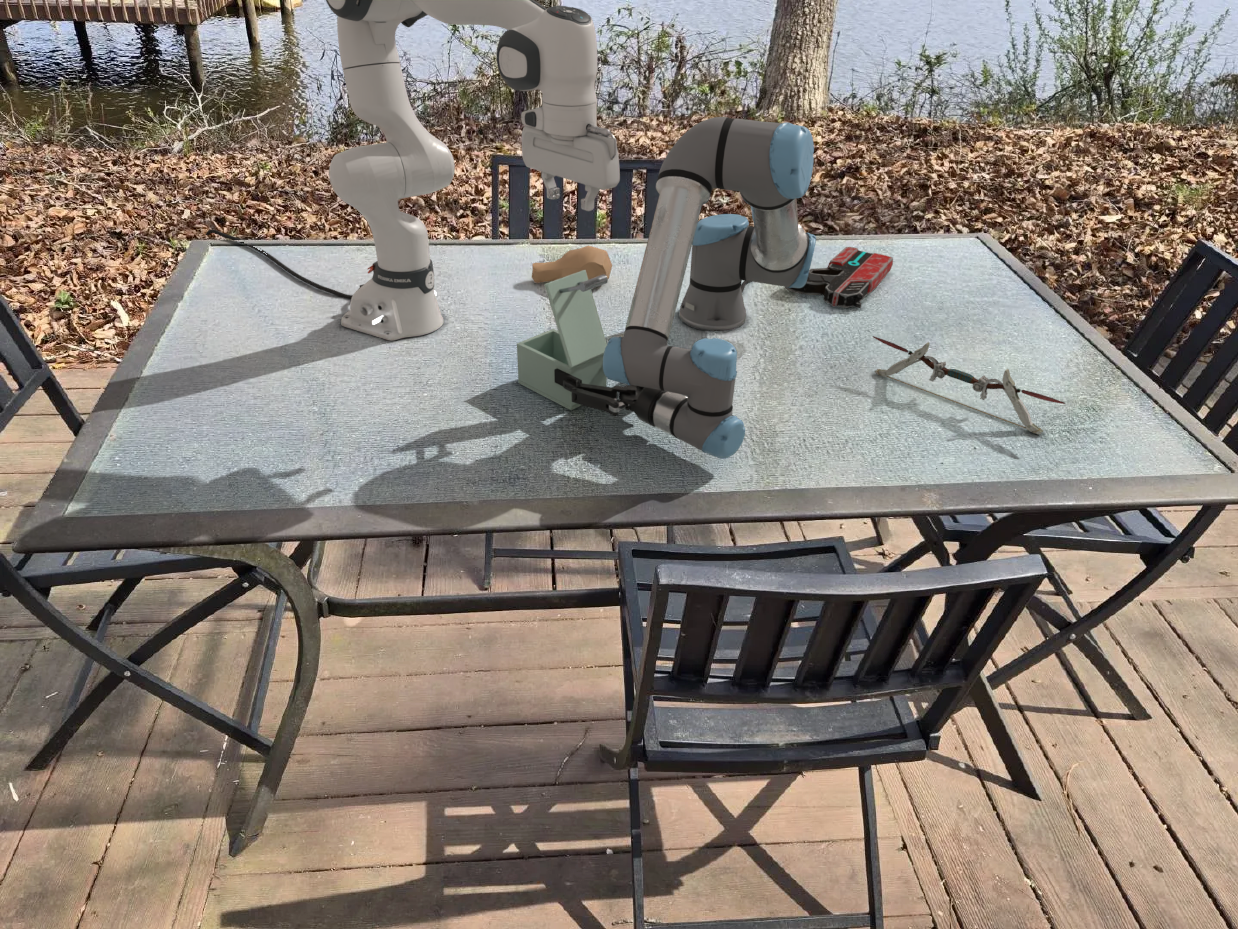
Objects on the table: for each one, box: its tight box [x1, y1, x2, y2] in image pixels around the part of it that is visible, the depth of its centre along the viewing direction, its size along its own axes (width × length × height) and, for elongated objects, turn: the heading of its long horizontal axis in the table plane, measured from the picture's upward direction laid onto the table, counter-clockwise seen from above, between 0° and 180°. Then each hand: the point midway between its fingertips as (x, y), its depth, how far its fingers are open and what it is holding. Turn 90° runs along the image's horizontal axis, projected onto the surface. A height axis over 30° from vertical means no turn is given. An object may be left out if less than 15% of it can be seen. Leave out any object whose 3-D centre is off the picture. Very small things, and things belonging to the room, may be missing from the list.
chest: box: [516, 328, 608, 411], centre depth 170 cm, size 15×10×9 cm, turn 47°
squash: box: [531, 245, 613, 284], centre depth 215 cm, size 11×20×9 cm, turn 90°
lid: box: [543, 270, 609, 367], centre depth 158 cm, size 16×10×8 cm
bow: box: [872, 335, 1066, 435], centre depth 169 cm, size 39×2×10 cm, turn 47°
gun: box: [784, 246, 894, 309], centre depth 220 cm, size 4×31×19 cm
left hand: (570, 203), depth 151 cm, fingers open, 7 cm apart
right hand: (575, 366), depth 167 cm, fingers closed on chest, 10 cm apart
